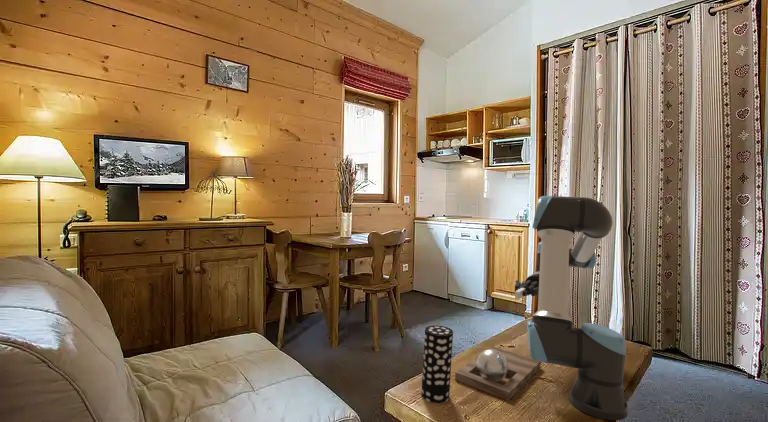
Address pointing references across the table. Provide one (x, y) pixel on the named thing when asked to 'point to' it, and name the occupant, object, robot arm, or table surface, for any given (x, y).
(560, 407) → the table surface
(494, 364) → the steel ball
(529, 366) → the brown wooden frame
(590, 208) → the robot arm
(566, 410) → the table surface
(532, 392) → the table surface
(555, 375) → the table surface
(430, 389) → the white-spotted black cylinder
